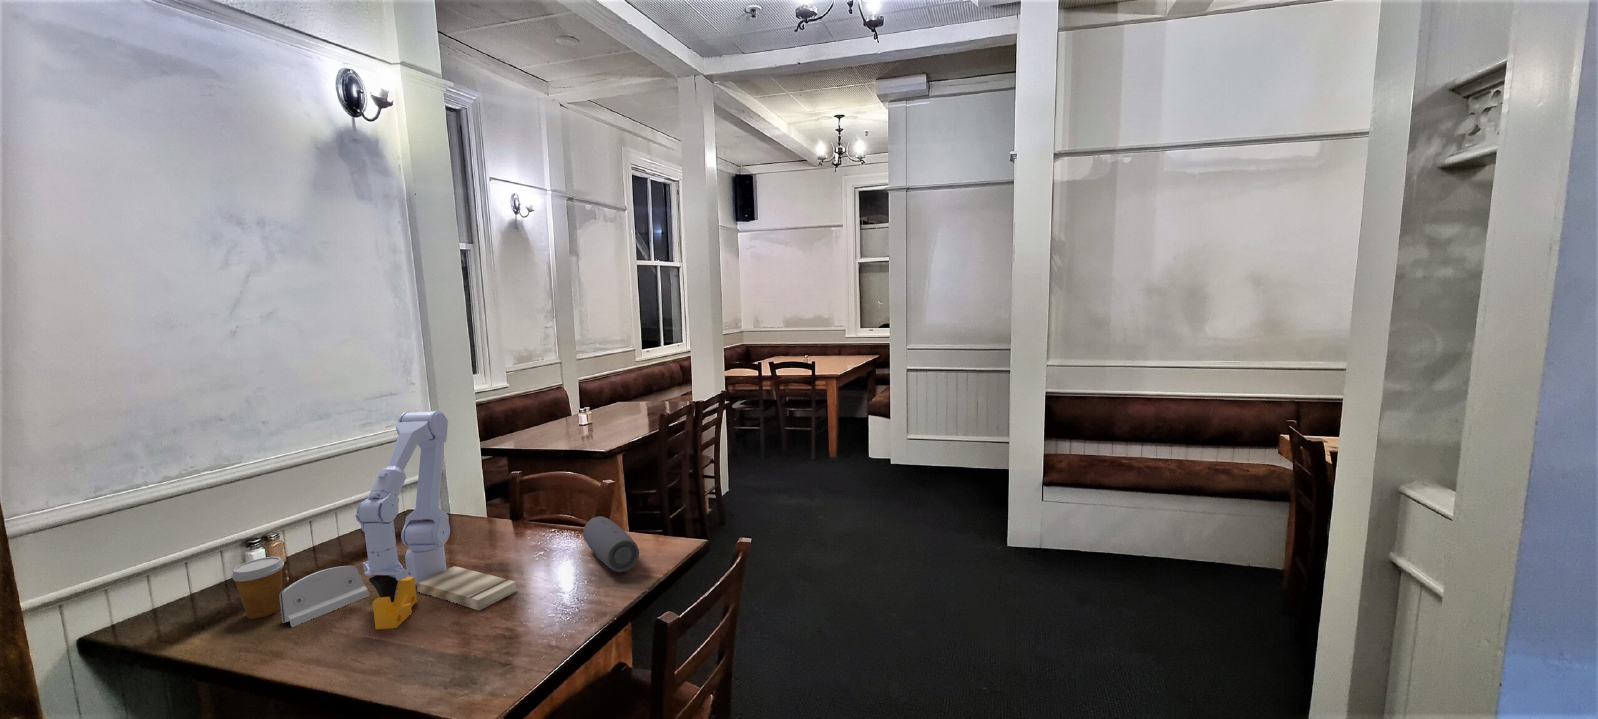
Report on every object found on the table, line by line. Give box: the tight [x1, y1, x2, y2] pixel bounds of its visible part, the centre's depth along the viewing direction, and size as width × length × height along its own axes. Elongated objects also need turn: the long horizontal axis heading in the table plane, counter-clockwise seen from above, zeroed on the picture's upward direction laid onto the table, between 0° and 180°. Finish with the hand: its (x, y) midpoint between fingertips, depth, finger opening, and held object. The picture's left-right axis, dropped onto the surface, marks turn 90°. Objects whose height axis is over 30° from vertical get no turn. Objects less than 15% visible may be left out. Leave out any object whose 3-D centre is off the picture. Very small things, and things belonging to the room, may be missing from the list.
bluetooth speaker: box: [582, 515, 640, 573], centre depth 166 cm, size 23×9×10 cm, turn 34°
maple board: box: [416, 565, 517, 611], centre depth 153 cm, size 24×10×3 cm, turn 63°
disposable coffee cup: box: [230, 556, 285, 620], centre depth 147 cm, size 10×10×12 cm
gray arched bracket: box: [279, 565, 371, 628], centre depth 148 cm, size 17×5×10 cm, turn 150°
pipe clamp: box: [372, 577, 418, 630], centre depth 142 cm, size 12×4×6 cm, turn 4°
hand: (388, 603), depth 146 cm, fingers closed
